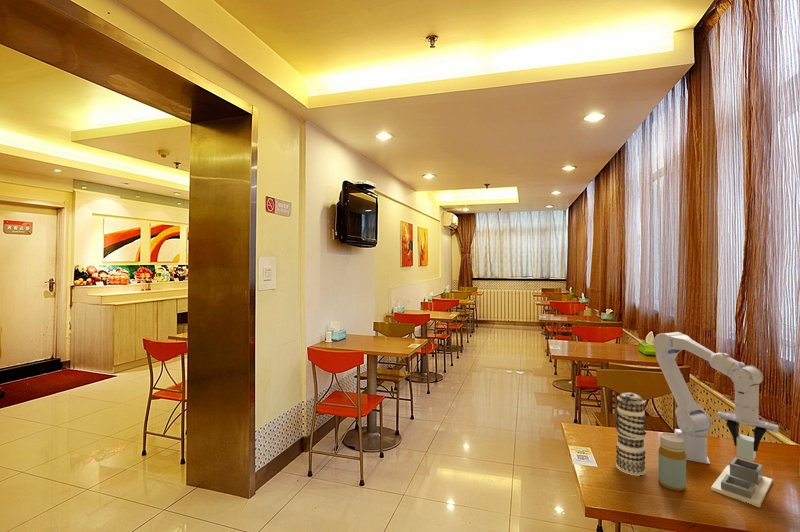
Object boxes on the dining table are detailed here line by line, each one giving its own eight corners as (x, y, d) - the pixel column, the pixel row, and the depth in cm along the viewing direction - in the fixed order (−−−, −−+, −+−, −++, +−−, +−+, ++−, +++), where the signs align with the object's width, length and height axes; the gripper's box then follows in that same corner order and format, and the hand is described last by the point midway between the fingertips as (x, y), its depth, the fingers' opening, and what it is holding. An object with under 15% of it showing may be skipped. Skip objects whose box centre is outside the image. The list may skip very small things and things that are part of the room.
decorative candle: (618, 474, 129) (619, 398, 128) (611, 460, 138) (612, 389, 137) (650, 478, 126) (651, 400, 126) (641, 464, 135) (641, 391, 135)
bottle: (677, 494, 117) (678, 444, 117) (653, 482, 124) (653, 435, 123) (690, 488, 121) (690, 439, 120) (666, 477, 127) (666, 430, 127)
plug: (753, 461, 122) (753, 442, 122) (736, 456, 125) (736, 437, 125) (756, 456, 125) (756, 437, 125) (739, 451, 128) (739, 433, 128)
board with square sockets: (759, 507, 111) (759, 490, 111) (711, 490, 120) (711, 473, 120) (772, 482, 124) (772, 466, 124) (727, 468, 132) (727, 453, 132)
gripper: (714, 401, 128) (714, 443, 128) (775, 415, 117) (775, 460, 117) (720, 396, 132) (719, 436, 132) (779, 409, 121) (779, 453, 121)
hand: (746, 447), depth 125 cm, fingers closed on plug, 4 cm apart
